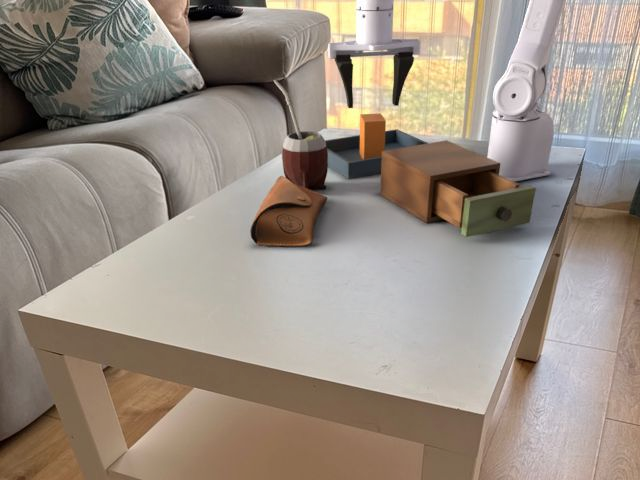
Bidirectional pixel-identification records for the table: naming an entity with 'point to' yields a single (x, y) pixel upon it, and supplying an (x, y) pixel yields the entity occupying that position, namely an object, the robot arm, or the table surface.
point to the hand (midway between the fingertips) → (372, 105)
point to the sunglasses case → (287, 215)
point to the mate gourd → (304, 155)
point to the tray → (348, 156)
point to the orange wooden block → (372, 135)
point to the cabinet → (426, 173)
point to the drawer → (482, 202)
